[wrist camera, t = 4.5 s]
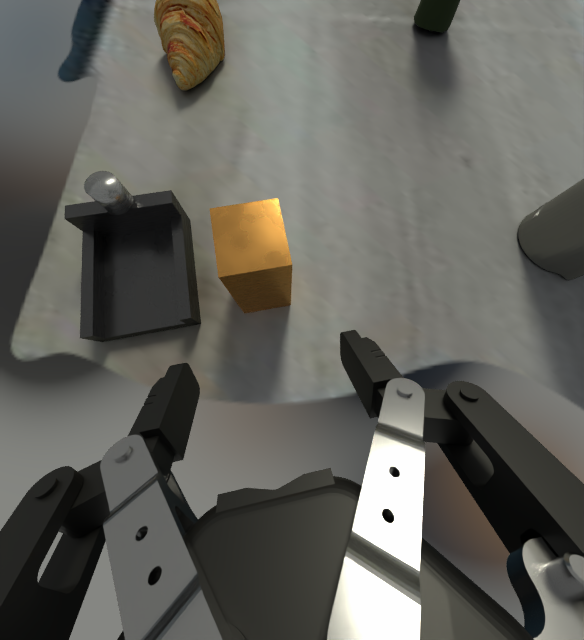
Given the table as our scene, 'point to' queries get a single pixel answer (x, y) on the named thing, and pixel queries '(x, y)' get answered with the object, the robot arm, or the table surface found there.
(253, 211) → the block
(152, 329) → the tray
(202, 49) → the croissant
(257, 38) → the table surface
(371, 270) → the table surface
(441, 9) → the character mug
